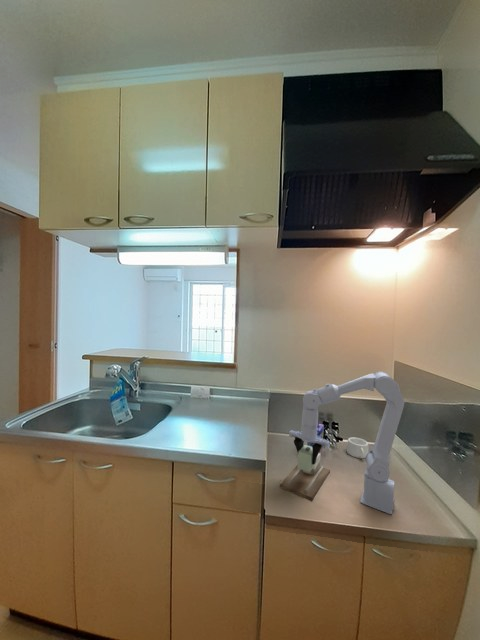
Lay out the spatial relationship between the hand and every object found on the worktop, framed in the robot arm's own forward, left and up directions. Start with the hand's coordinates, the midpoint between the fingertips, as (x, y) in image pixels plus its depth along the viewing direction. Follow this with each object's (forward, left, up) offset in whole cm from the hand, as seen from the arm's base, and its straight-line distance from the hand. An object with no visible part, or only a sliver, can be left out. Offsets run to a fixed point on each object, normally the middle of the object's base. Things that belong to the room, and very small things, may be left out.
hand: (307, 460), depth 102 cm
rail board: (+1, -4, -9) cm, 10 cm away
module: (0, 0, -2) cm, 2 cm away
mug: (-11, -39, -9) cm, 42 cm away
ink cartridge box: (+6, -28, -9) cm, 30 cm away
